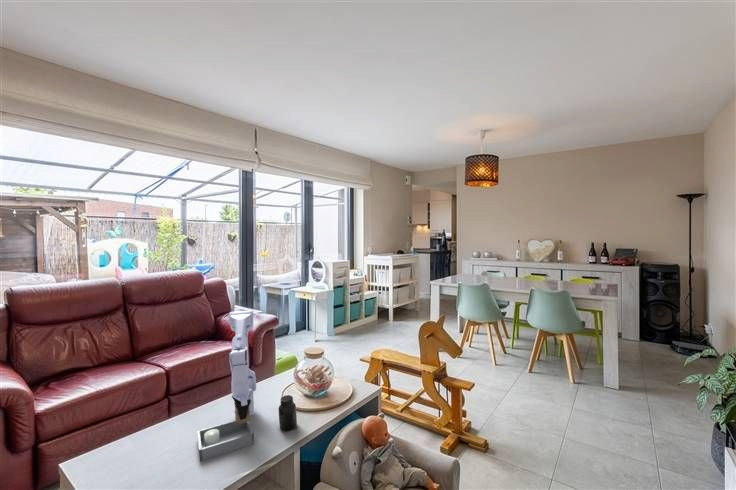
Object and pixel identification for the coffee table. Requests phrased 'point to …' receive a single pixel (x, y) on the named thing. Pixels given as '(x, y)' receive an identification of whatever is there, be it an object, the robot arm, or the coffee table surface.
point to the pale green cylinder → (211, 437)
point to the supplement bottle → (287, 414)
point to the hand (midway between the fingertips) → (242, 415)
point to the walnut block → (239, 417)
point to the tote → (226, 439)
